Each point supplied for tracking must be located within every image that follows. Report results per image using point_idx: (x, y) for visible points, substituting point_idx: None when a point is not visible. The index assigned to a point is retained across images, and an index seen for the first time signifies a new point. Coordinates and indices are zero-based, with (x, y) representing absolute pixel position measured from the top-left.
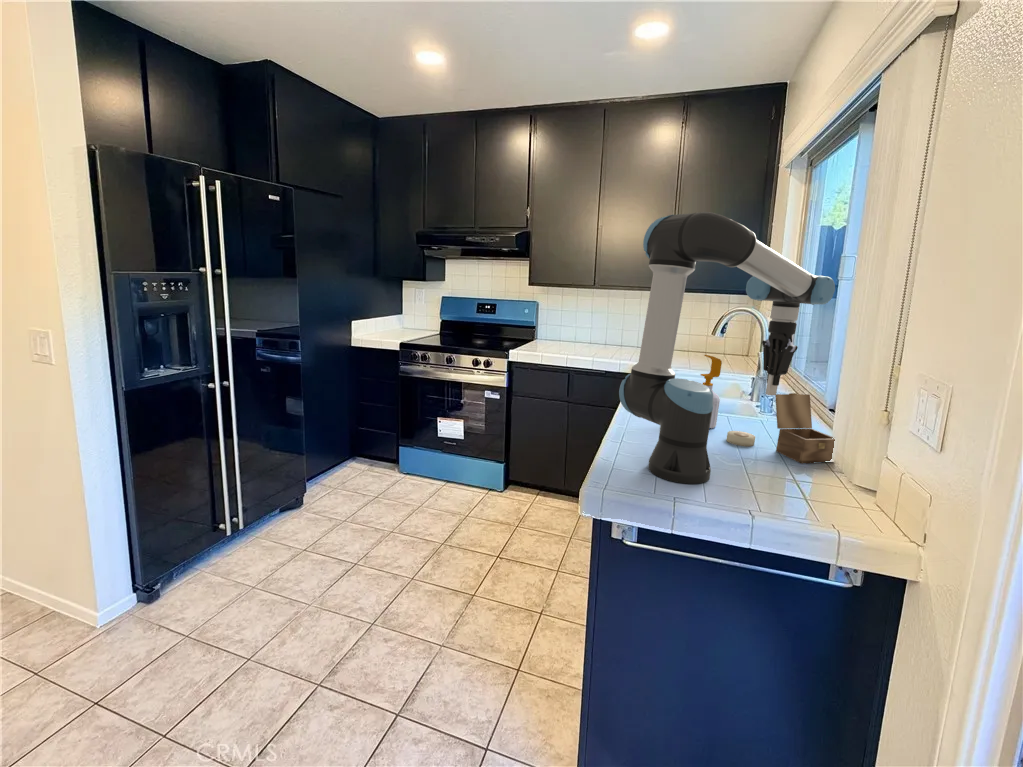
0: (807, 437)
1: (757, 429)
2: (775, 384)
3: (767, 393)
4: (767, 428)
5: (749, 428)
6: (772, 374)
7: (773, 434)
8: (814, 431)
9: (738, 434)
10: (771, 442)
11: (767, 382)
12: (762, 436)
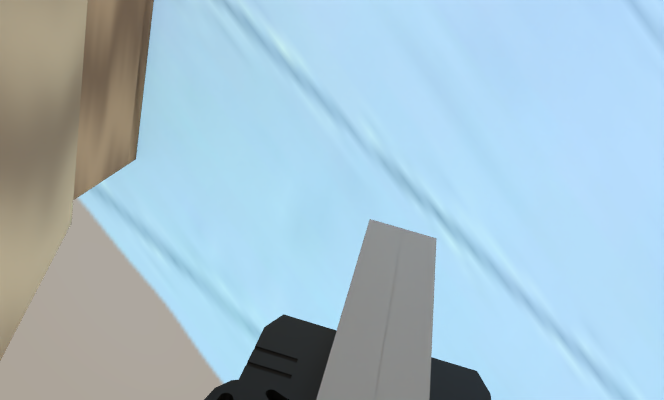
0: None
1: (571, 262)
2: (266, 332)
3: (396, 234)
4: (554, 351)
5: (617, 226)
6: (239, 391)
7: (441, 263)
8: None
9: None
10: (317, 76)
11: (431, 340)
12: (439, 141)
